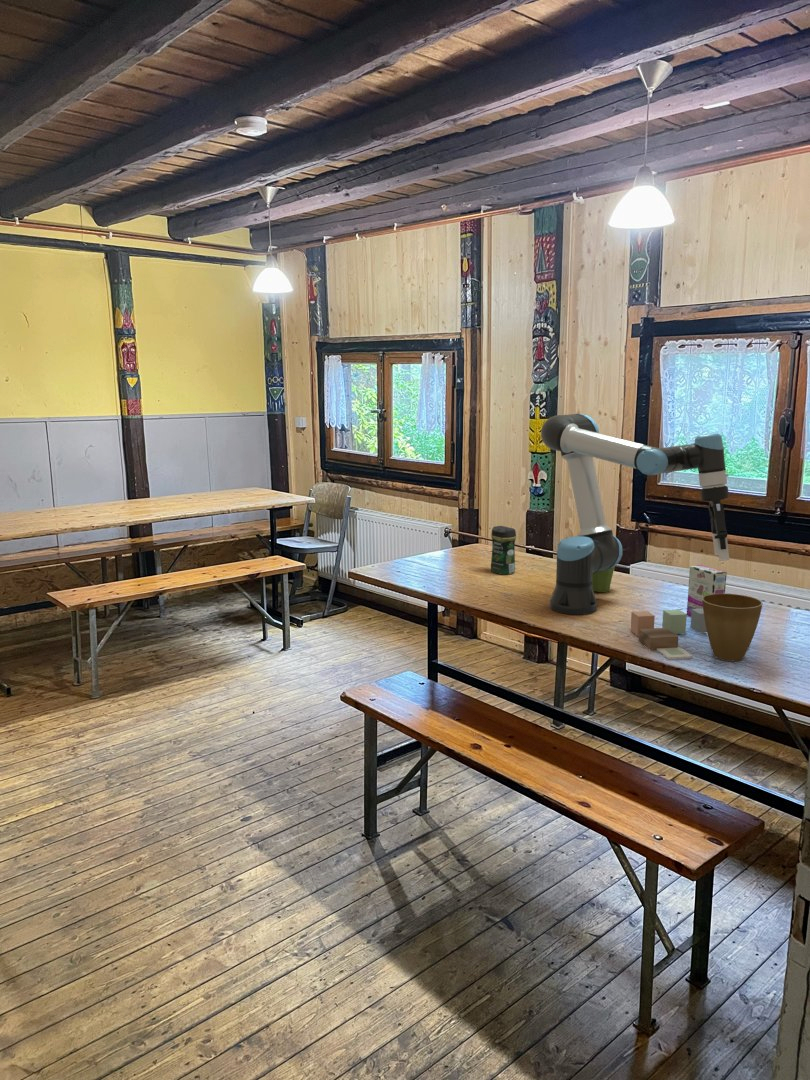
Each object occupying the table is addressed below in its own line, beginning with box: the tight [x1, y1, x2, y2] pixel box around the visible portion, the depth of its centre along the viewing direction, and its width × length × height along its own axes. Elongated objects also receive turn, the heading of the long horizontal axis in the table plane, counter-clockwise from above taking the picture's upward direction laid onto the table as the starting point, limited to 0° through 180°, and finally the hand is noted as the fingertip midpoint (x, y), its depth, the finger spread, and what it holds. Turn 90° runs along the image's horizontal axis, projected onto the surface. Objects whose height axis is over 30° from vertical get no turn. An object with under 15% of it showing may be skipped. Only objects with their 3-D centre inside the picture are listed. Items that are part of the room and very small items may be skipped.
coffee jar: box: [490, 525, 517, 575], centre depth 298 cm, size 10×8×19 cm
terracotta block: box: [630, 610, 656, 637], centre depth 225 cm, size 5×5×6 cm
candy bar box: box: [686, 564, 727, 618], centre depth 236 cm, size 11×5×16 cm, turn 21°
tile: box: [656, 646, 694, 660], centre depth 207 cm, size 7×7×1 cm
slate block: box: [689, 609, 707, 634], centre depth 227 cm, size 5×5×6 cm
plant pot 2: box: [702, 593, 763, 662], centre depth 203 cm, size 15×15×16 cm
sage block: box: [661, 609, 688, 635], centre depth 226 cm, size 5×5×6 cm
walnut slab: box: [638, 627, 679, 651], centre depth 214 cm, size 8×8×4 cm
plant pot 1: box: [592, 566, 616, 593], centre depth 272 cm, size 12×12×11 cm
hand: (721, 557), depth 224 cm, fingers open, 13 cm apart
